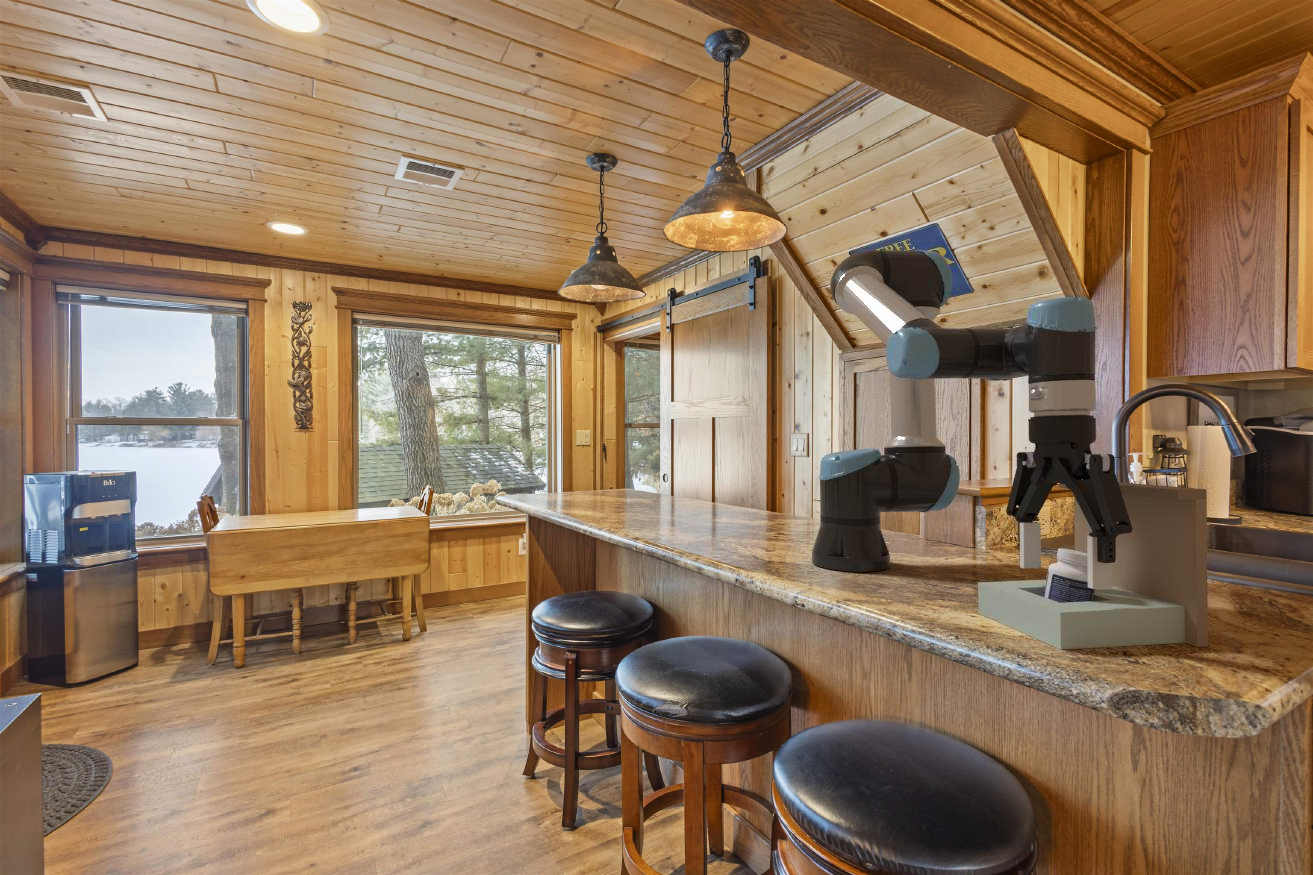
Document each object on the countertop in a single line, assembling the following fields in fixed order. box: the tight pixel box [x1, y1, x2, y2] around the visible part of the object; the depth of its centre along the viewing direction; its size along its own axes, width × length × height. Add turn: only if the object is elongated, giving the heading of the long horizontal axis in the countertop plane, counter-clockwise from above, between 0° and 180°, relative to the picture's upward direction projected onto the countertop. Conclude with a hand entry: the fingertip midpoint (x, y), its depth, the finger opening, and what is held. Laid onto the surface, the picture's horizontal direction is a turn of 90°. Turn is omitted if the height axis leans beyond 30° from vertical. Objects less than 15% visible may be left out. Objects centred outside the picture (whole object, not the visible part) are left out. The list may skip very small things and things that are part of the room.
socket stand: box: [977, 479, 1209, 651], centre depth 80 cm, size 18×18×19 cm
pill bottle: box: [1043, 547, 1095, 603], centre depth 79 cm, size 5×5×10 cm
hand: (1062, 576), depth 79 cm, fingers open, 11 cm apart
